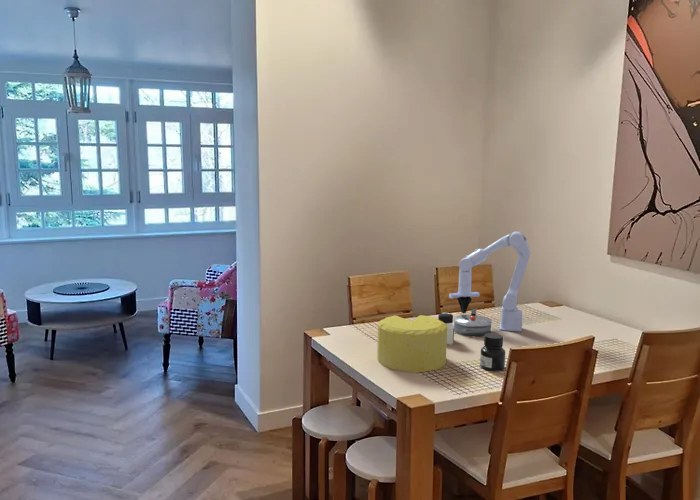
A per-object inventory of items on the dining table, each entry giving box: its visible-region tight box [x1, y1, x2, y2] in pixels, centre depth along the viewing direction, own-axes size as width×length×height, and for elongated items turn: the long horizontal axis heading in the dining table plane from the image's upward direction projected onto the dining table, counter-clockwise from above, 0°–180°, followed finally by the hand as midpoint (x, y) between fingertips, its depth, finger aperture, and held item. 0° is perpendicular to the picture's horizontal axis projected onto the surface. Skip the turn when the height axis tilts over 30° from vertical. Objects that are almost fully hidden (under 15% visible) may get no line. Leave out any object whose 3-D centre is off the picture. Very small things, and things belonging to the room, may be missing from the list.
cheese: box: [376, 314, 448, 373], centre depth 228 cm, size 26×26×15 cm
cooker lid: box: [453, 308, 493, 327], centre depth 269 cm, size 22×16×3 cm
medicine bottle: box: [437, 312, 455, 345], centre depth 251 cm, size 7×7×12 cm
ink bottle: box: [479, 332, 506, 372], centre depth 221 cm, size 10×9×12 cm
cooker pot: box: [453, 321, 492, 338], centre depth 269 cm, size 20×16×4 cm
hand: (463, 312), depth 277 cm, fingers closed
